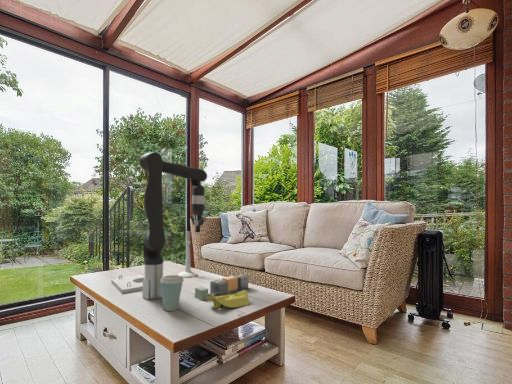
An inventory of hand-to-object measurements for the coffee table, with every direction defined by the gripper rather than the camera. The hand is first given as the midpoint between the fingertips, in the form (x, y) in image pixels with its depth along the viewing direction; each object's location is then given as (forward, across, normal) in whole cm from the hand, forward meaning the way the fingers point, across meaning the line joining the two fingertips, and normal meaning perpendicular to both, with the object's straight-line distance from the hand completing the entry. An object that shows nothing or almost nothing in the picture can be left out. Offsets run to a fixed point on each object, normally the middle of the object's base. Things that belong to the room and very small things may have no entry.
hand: (197, 232), depth 177 cm
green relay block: (+32, +21, -12) cm, 40 cm away
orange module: (+30, +23, +5) cm, 38 cm away
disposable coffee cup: (+32, +23, -31) cm, 50 cm away
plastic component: (+32, +38, -10) cm, 51 cm away
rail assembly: (+31, +24, +4) cm, 39 cm away
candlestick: (+32, -24, +10) cm, 41 cm away
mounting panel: (+32, -26, -20) cm, 46 cm away
